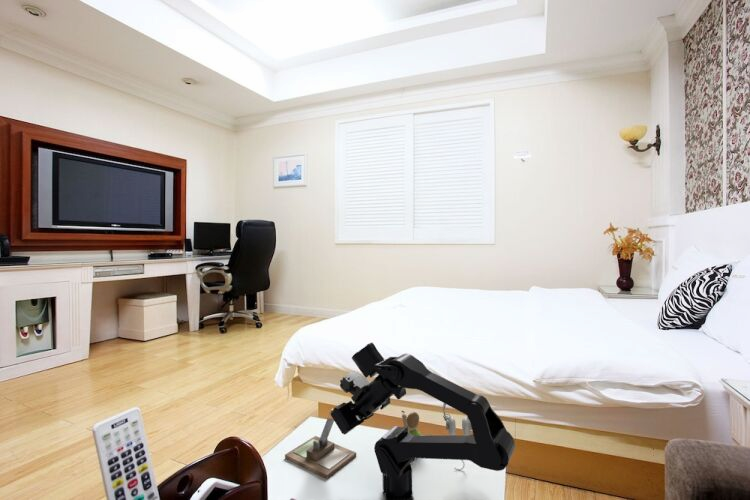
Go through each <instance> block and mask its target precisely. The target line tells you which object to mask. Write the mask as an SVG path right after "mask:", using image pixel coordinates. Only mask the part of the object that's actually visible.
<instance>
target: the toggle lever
mask: <svg viewBox="0 0 750 500" xmlns="http://www.w3.org/2000/svg"><path fill="white" fill-rule="evenodd" d="M334 408H335V407H333V408H330V409H328V411H327V414H326V415H327V418H326V422H325V425H324V427H323V430H322V432H321V435H320V436H319V437H320V440H319V442H320V448H321V447H323V446H324V445H325V443H326V441H327V440H328V438H329V435H330V433H331V430H332V427H333V425H334V422H335V421H334V419H333V418H332V416H331V411H332V410H333V409H334Z"/></svg>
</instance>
